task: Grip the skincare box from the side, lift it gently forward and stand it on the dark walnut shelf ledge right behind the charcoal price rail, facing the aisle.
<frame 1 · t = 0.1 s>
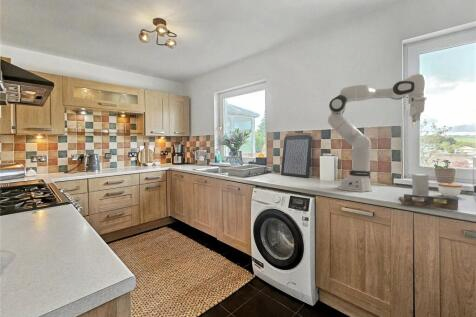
hand: (415, 121, 147), 48 cm above the countertop, tool pointing down, fingers open, 8 cm apart
skincare box: (419, 199, 135), on the countertop
shelf: (425, 203, 124), on the countertop
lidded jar: (448, 196, 141), on the countertop
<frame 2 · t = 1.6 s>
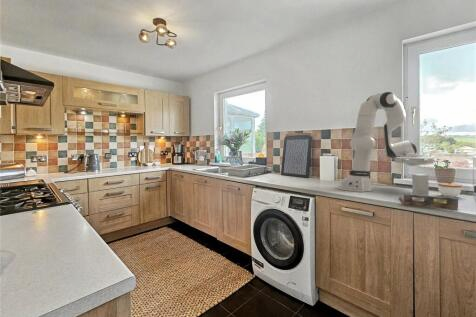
hand: (416, 160, 145), 22 cm above the countertop, tool horizontal, fingers open, 8 cm apart
nothing on the countertop moved.
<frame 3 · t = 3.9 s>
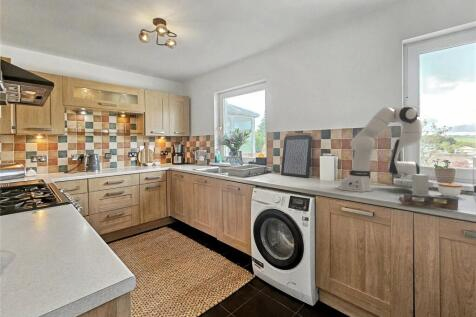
hand: (416, 184, 144), 7 cm above the countertop, tool horizontal, fingers open, 8 cm apart
nothing on the countertop moved.
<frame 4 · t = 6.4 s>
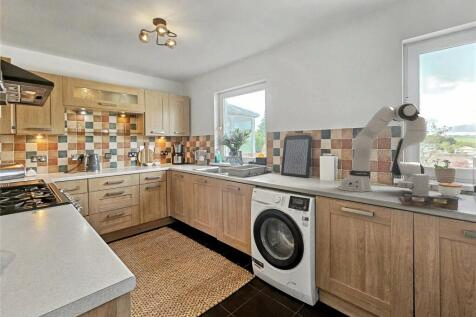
hand: (420, 187, 135), 7 cm above the countertop, tool horizontal, fingers closed on skincare box, 6 cm apart
skincare box: (419, 199, 135), on the countertop, touching gripper
everything else where it was.
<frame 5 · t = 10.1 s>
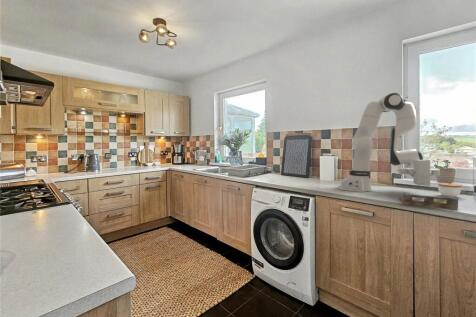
hand: (421, 172, 133), 16 cm above the countertop, tool horizontal, fingers closed on skincare box, 6 cm apart
skincare box: (421, 184, 134), point 9 cm above the countertop, touching gripper
everything else where it was.
when the fingers open (10 cm above the countertop, at t = 13.5 s): skincare box drops 1 cm, resting on shelf.
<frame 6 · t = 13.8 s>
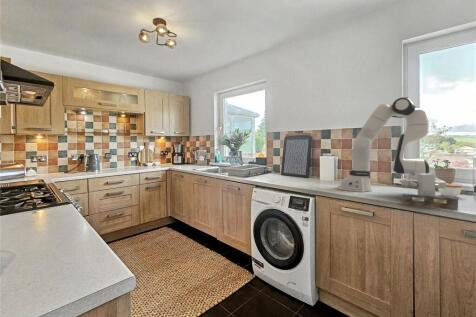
hand: (426, 185, 124), 10 cm above the countertop, tool horizontal, fingers open, 8 cm apart
skincare box: (426, 200, 125), point 1 cm above the countertop, touching shelf
everything else where it was.
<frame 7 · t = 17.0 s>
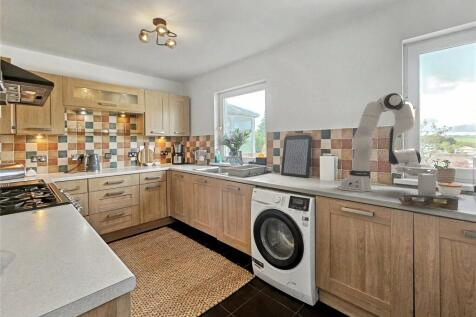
hand: (419, 171, 136), 16 cm above the countertop, tool horizontal, fingers open, 8 cm apart
nothing on the countertop moved.
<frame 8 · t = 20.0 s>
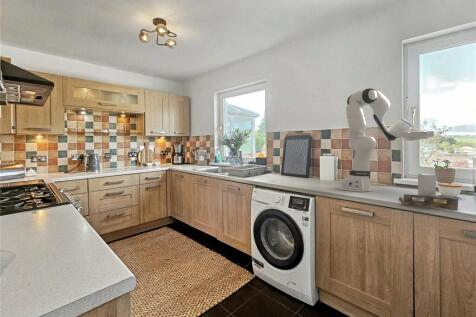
hand: (417, 133, 148), 40 cm above the countertop, tool horizontal, fingers open, 8 cm apart
nothing on the countertop moved.
at the end: skincare box inside the target area (0.7 cm from its centre), point 1.3 cm above the countertop; skincare box tilted 0°; the gripper is holding nothing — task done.
